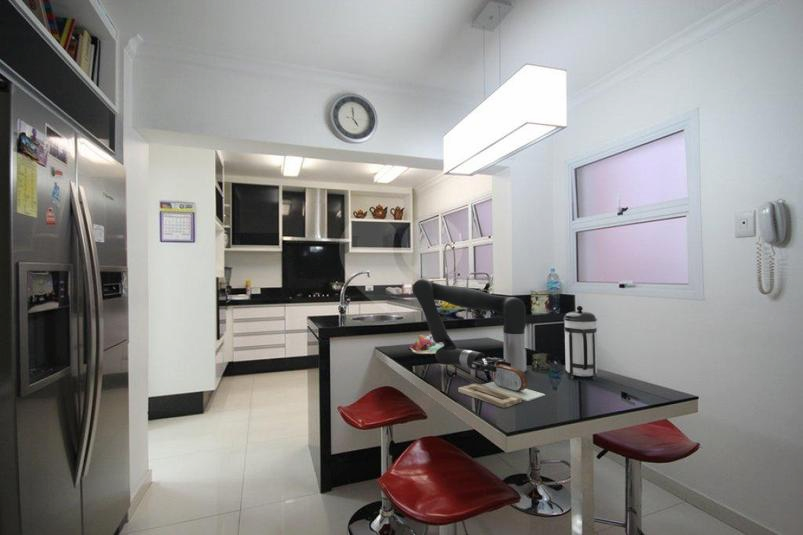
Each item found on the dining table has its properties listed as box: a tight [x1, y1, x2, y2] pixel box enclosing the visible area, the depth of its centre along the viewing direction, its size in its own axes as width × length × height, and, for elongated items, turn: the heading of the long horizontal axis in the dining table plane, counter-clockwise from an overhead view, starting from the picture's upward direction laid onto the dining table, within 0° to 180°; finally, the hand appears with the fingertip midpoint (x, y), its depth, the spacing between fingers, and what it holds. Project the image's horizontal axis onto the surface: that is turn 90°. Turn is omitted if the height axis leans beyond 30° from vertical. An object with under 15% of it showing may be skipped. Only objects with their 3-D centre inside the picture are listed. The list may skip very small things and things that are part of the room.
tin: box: [491, 364, 528, 392], centre depth 141 cm, size 15×3×8 cm, turn 34°
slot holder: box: [457, 382, 522, 409], centre depth 134 cm, size 9×21×2 cm, turn 35°
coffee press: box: [563, 305, 599, 382], centre depth 157 cm, size 17×16×30 cm
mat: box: [481, 381, 546, 402], centre depth 141 cm, size 10×22×1 cm, turn 35°
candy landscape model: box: [408, 334, 444, 355], centre depth 220 cm, size 25×24×9 cm
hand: (503, 367), depth 144 cm, fingers open, 8 cm apart
